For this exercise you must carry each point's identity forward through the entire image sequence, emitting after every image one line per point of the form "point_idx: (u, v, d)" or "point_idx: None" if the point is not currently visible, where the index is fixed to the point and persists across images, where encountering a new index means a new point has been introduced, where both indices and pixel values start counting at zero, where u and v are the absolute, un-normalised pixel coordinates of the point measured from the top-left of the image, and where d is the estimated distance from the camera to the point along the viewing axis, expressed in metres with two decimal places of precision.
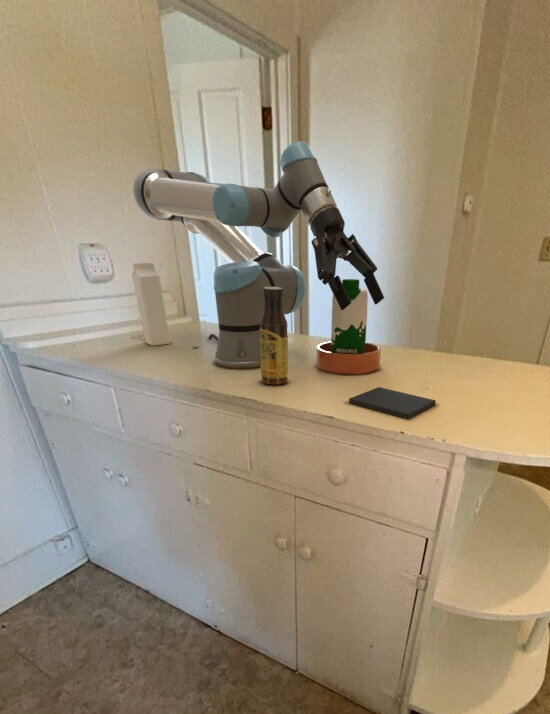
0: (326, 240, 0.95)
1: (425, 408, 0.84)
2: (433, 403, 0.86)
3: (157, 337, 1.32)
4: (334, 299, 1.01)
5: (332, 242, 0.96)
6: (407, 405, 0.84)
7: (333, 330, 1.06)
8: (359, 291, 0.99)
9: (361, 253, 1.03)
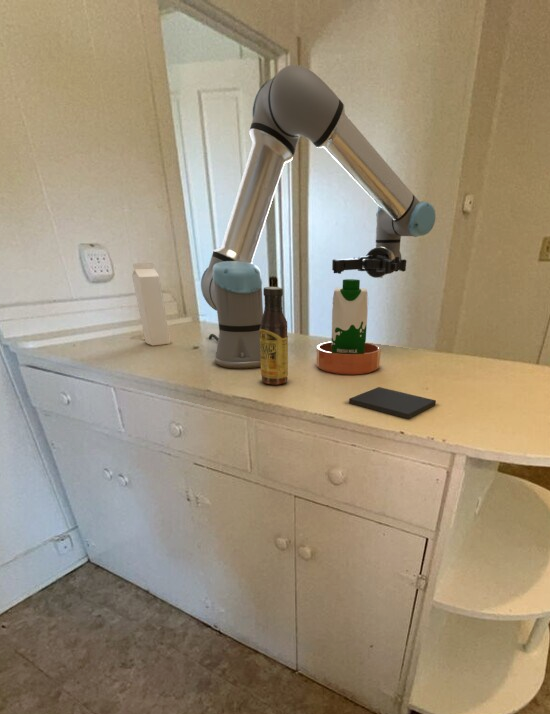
0: None
1: (425, 408, 0.84)
2: (433, 403, 0.86)
3: (157, 337, 1.32)
4: (335, 299, 1.01)
5: None
6: (407, 405, 0.84)
7: (333, 330, 1.05)
8: (360, 291, 0.99)
9: None
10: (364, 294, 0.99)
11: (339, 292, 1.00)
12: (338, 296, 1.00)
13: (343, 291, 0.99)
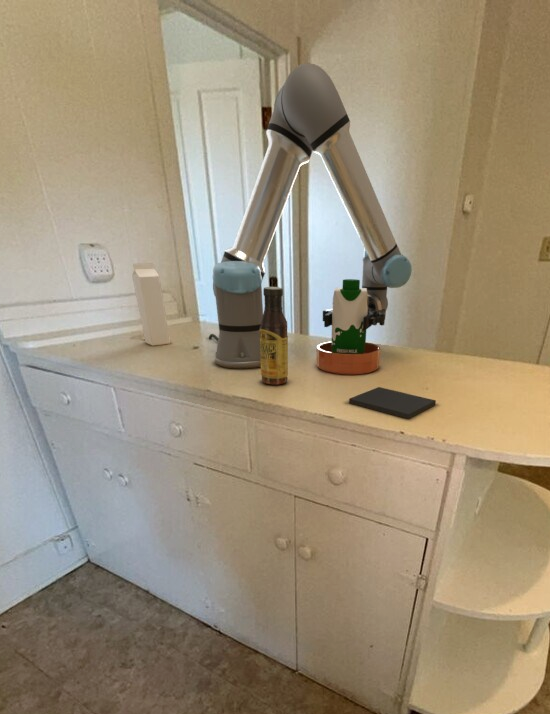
0: None
1: (425, 408, 0.84)
2: (433, 403, 0.86)
3: (157, 337, 1.32)
4: (335, 299, 1.01)
5: None
6: (407, 405, 0.84)
7: (333, 330, 1.05)
8: (360, 291, 0.99)
9: None
10: (364, 294, 0.99)
11: (339, 292, 1.00)
12: (338, 296, 1.00)
13: (343, 291, 0.99)
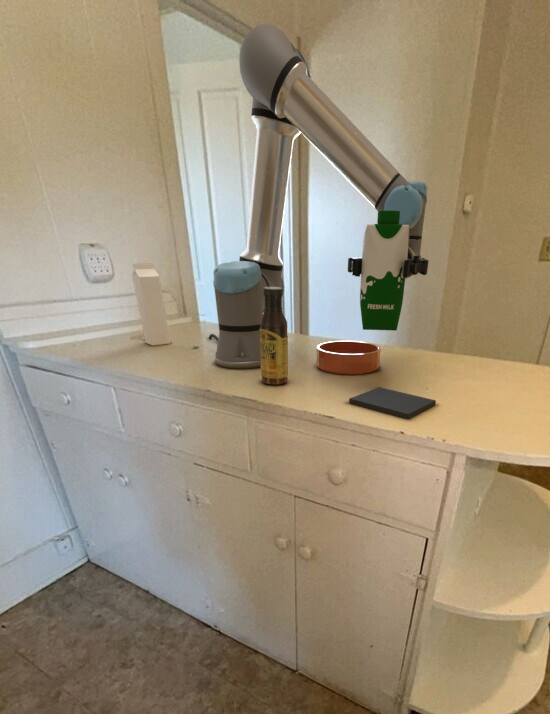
0: None
1: (425, 408, 0.84)
2: (433, 403, 0.86)
3: (157, 337, 1.32)
4: (367, 237, 0.78)
5: None
6: (407, 405, 0.84)
7: (363, 279, 0.83)
8: (400, 225, 0.77)
9: None
10: (406, 229, 0.77)
11: (373, 227, 0.77)
12: (372, 232, 0.78)
13: (379, 225, 0.77)
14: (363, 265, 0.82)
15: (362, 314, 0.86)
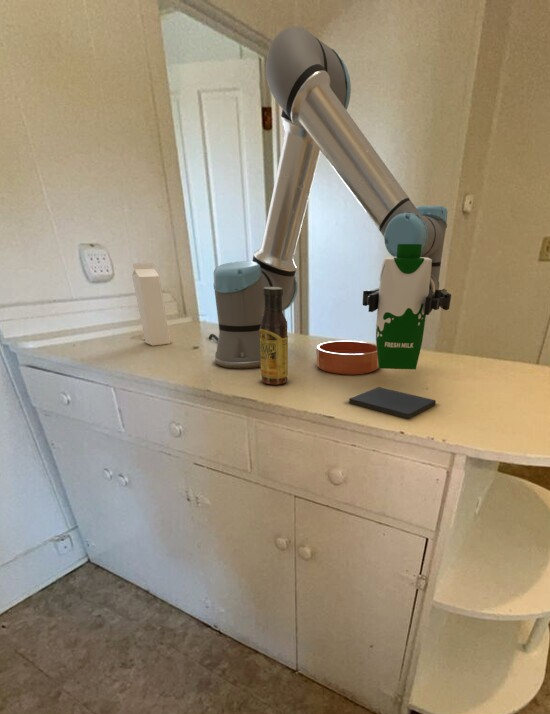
0: None
1: (425, 408, 0.84)
2: (433, 403, 0.86)
3: (157, 337, 1.32)
4: (385, 272, 0.72)
5: None
6: (407, 405, 0.84)
7: (380, 316, 0.76)
8: (422, 260, 0.70)
9: None
10: (428, 264, 0.70)
11: (393, 261, 0.70)
12: (391, 267, 0.71)
13: (398, 260, 0.70)
14: (380, 301, 0.75)
15: (378, 352, 0.79)
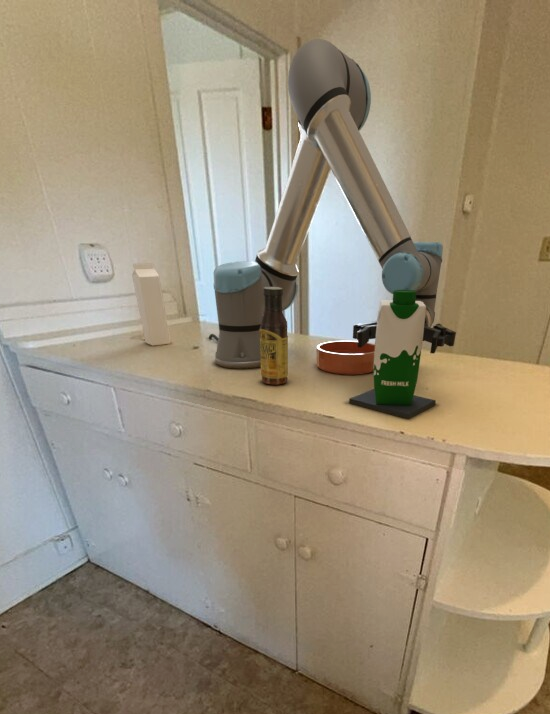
0: None
1: (425, 408, 0.84)
2: (433, 403, 0.86)
3: (157, 337, 1.32)
4: (382, 317, 0.76)
5: None
6: (407, 405, 0.84)
7: (377, 356, 0.80)
8: (417, 306, 0.74)
9: None
10: (422, 310, 0.74)
11: (389, 307, 0.74)
12: (387, 313, 0.75)
13: (394, 306, 0.74)
14: (377, 342, 0.79)
15: (375, 389, 0.83)
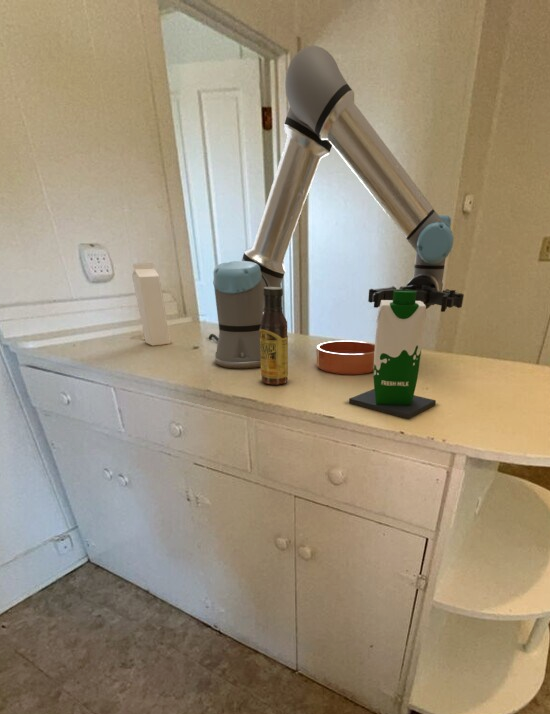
0: None
1: (425, 408, 0.84)
2: (433, 403, 0.86)
3: (157, 337, 1.32)
4: (382, 317, 0.76)
5: None
6: (407, 405, 0.84)
7: (377, 356, 0.80)
8: (417, 306, 0.74)
9: None
10: (422, 310, 0.74)
11: (389, 307, 0.74)
12: (387, 313, 0.75)
13: (394, 306, 0.74)
14: (377, 342, 0.79)
15: (375, 389, 0.83)
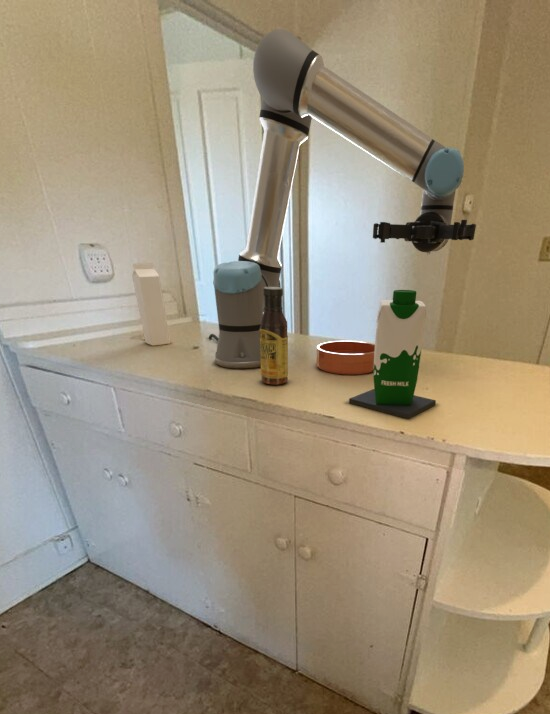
0: None
1: (425, 408, 0.84)
2: (433, 403, 0.86)
3: (157, 337, 1.32)
4: (382, 317, 0.76)
5: None
6: (407, 405, 0.84)
7: (377, 356, 0.80)
8: (417, 306, 0.74)
9: None
10: (422, 310, 0.74)
11: (389, 307, 0.74)
12: (387, 313, 0.75)
13: (394, 306, 0.74)
14: (377, 342, 0.79)
15: (375, 389, 0.83)
